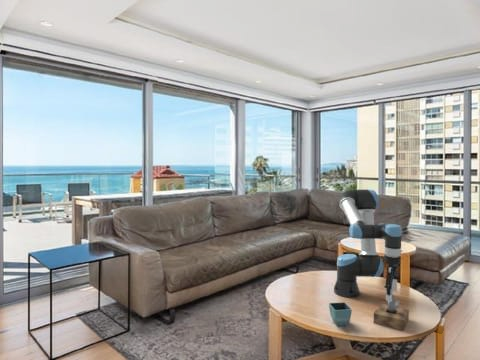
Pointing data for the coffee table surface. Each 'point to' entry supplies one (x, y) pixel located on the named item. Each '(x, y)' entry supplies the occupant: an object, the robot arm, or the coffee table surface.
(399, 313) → the block
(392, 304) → the grey metal peg
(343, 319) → the flower pot
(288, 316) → the coffee table surface
